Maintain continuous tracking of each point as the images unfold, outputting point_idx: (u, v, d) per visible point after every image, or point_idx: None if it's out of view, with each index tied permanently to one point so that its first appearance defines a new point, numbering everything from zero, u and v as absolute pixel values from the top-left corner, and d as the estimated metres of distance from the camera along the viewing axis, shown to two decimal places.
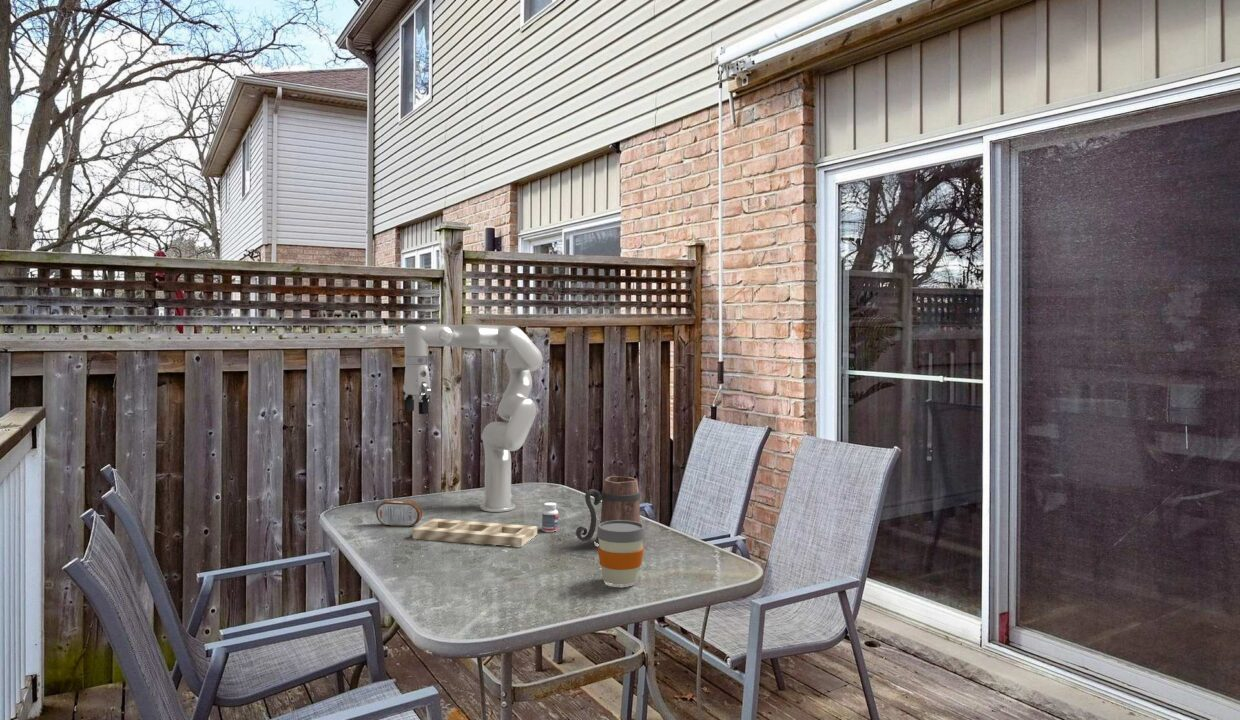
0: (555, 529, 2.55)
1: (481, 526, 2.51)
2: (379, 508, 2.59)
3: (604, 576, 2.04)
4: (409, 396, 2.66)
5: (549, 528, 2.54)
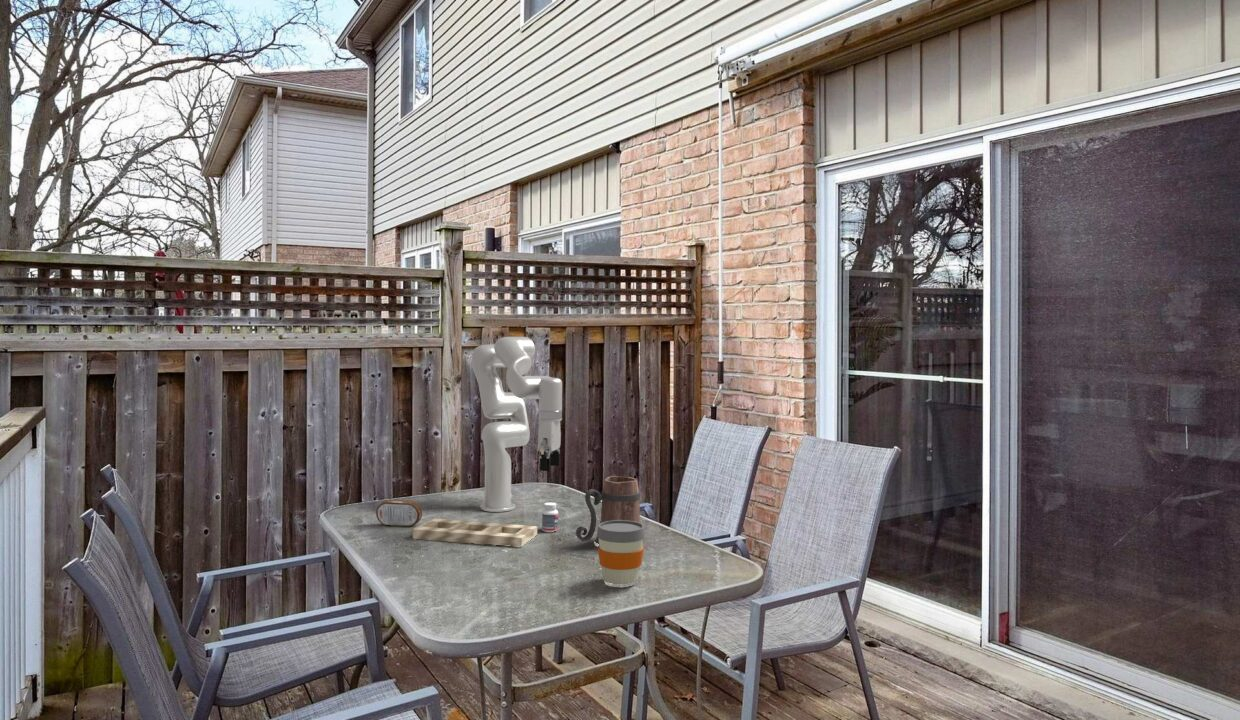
0: (555, 529, 2.55)
1: (481, 526, 2.51)
2: (379, 508, 2.59)
3: (604, 576, 2.04)
4: None
5: (549, 528, 2.54)
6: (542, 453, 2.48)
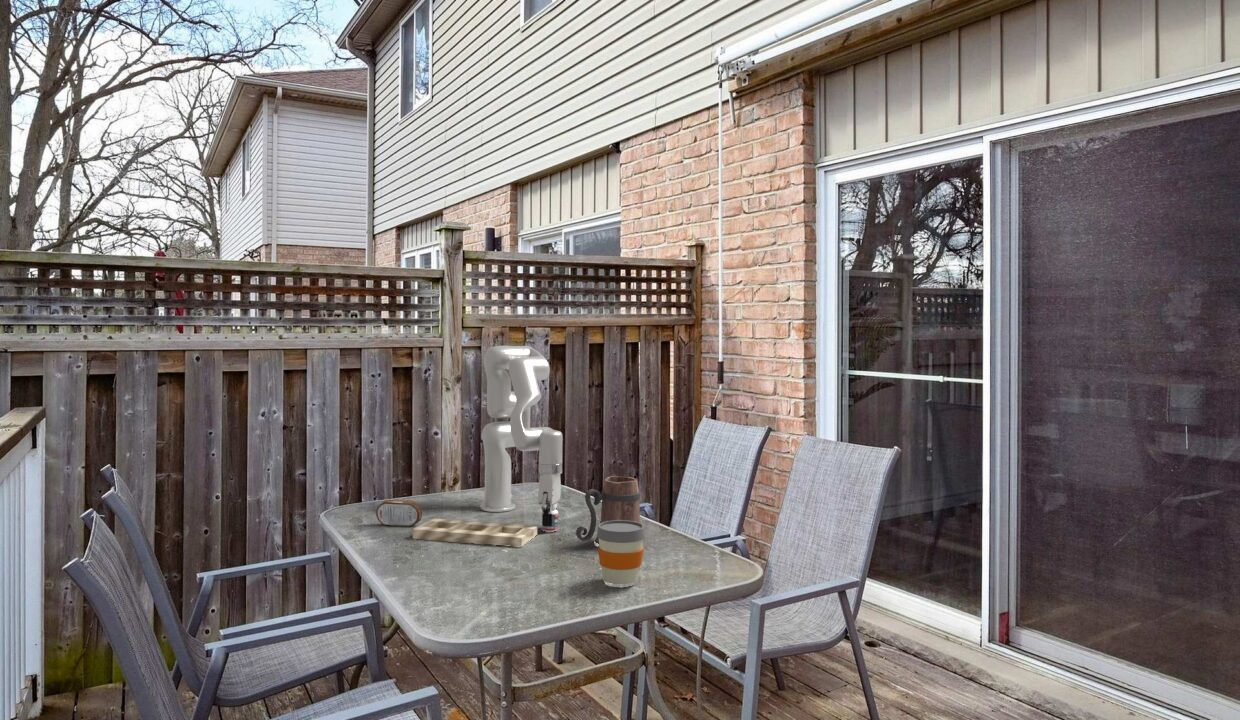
0: (555, 529, 2.55)
1: (481, 526, 2.51)
2: (379, 508, 2.59)
3: (604, 576, 2.04)
4: None
5: (549, 528, 2.54)
6: (544, 510, 2.51)
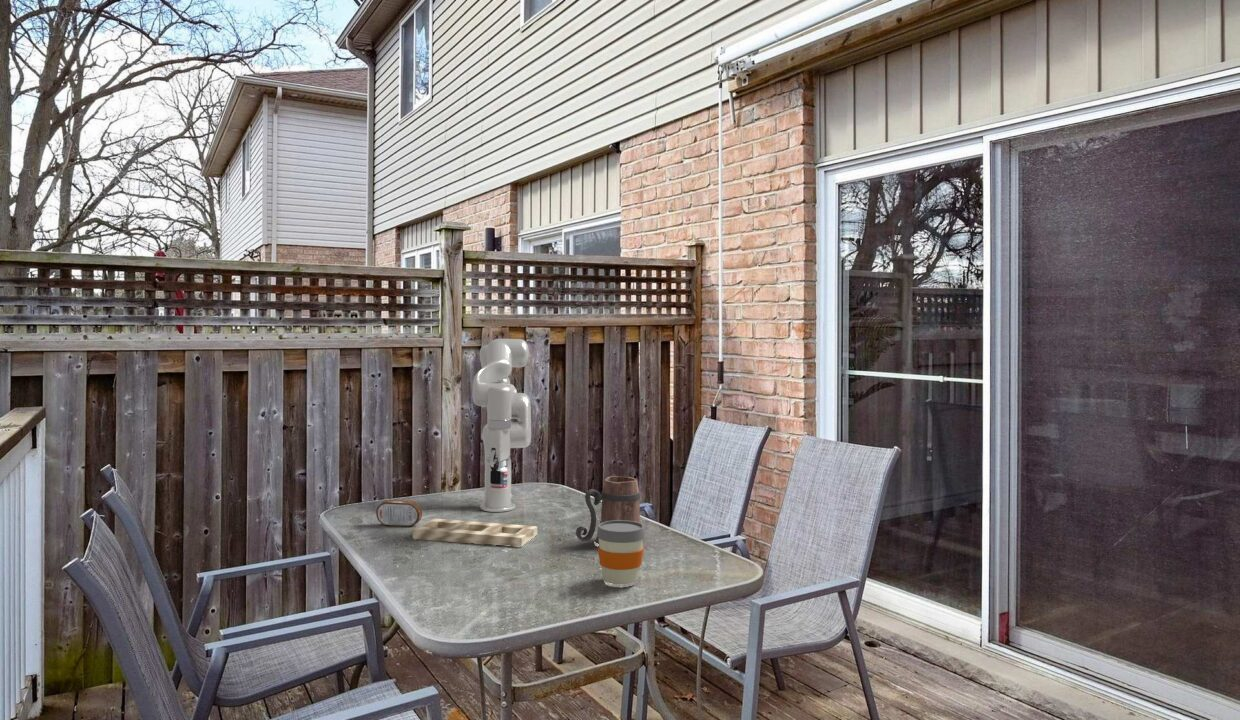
0: (504, 487, 2.48)
1: (481, 526, 2.51)
2: (379, 508, 2.59)
3: (604, 576, 2.04)
4: None
5: (498, 486, 2.47)
6: (492, 466, 2.44)
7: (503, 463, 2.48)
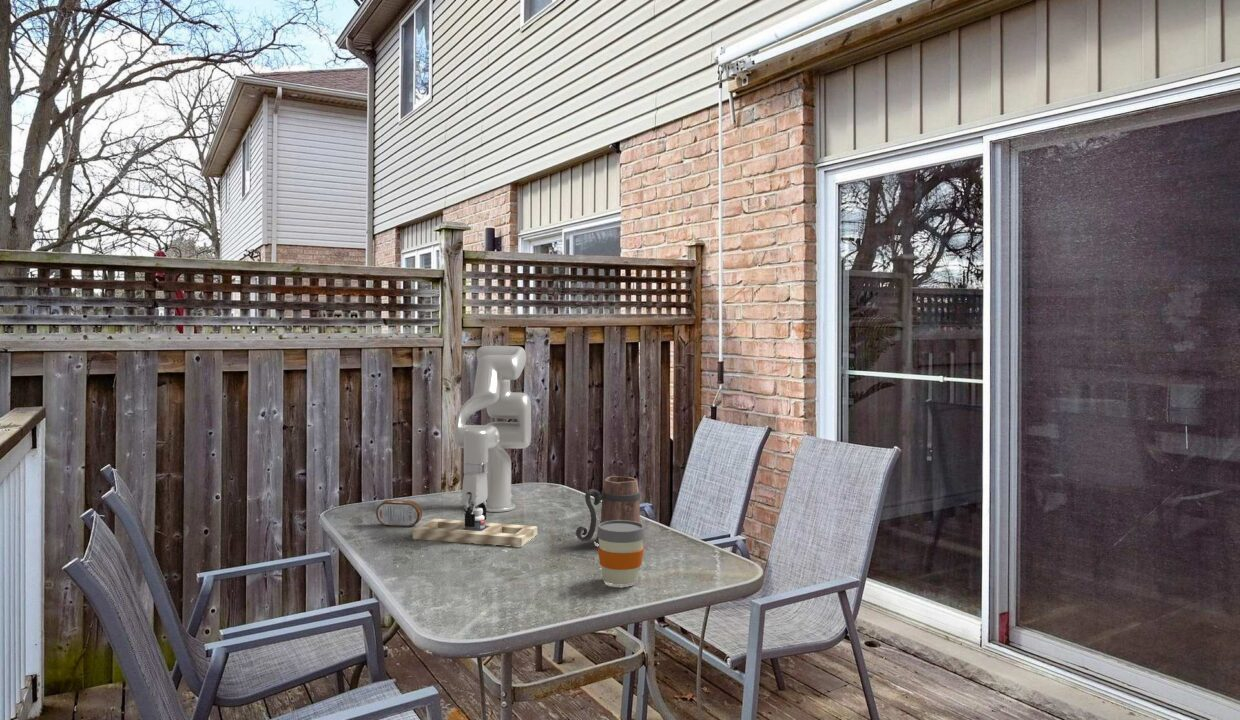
0: None
1: None
2: (379, 508, 2.59)
3: (604, 576, 2.04)
4: None
5: None
6: (466, 509, 2.40)
7: (480, 511, 2.46)
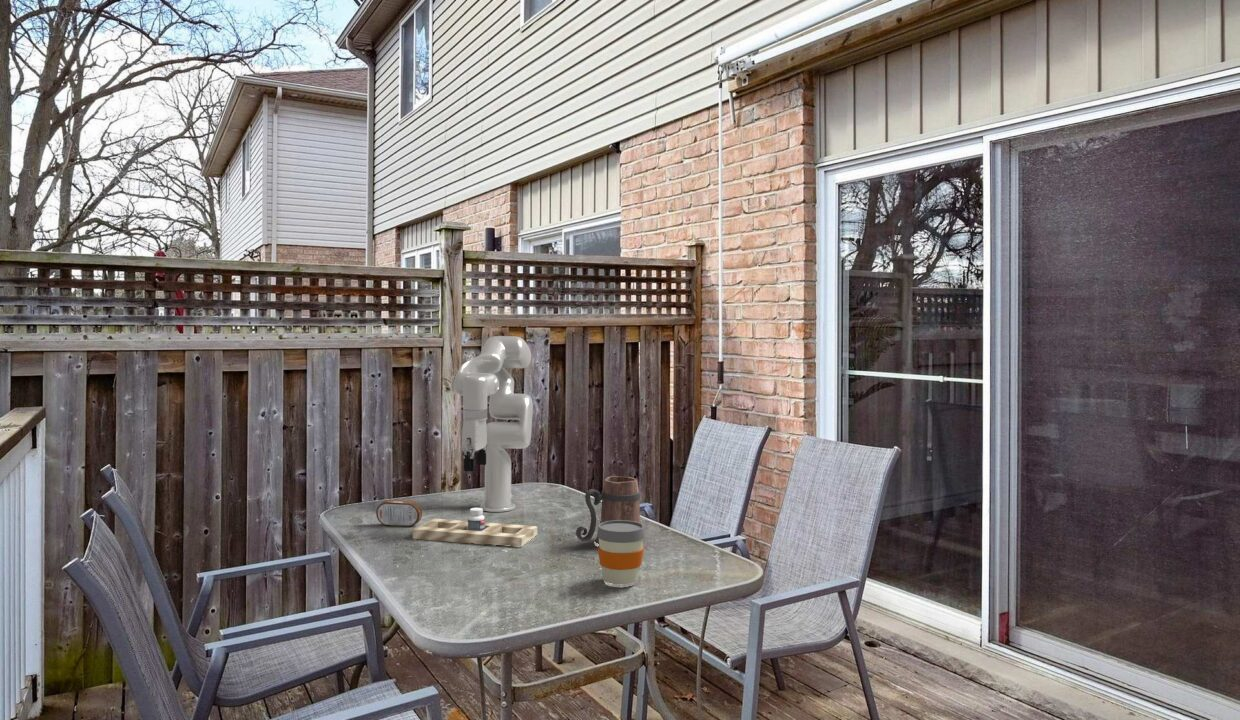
0: None
1: None
2: (379, 508, 2.59)
3: (604, 576, 2.04)
4: None
5: None
6: (465, 453, 2.42)
7: (480, 511, 2.46)
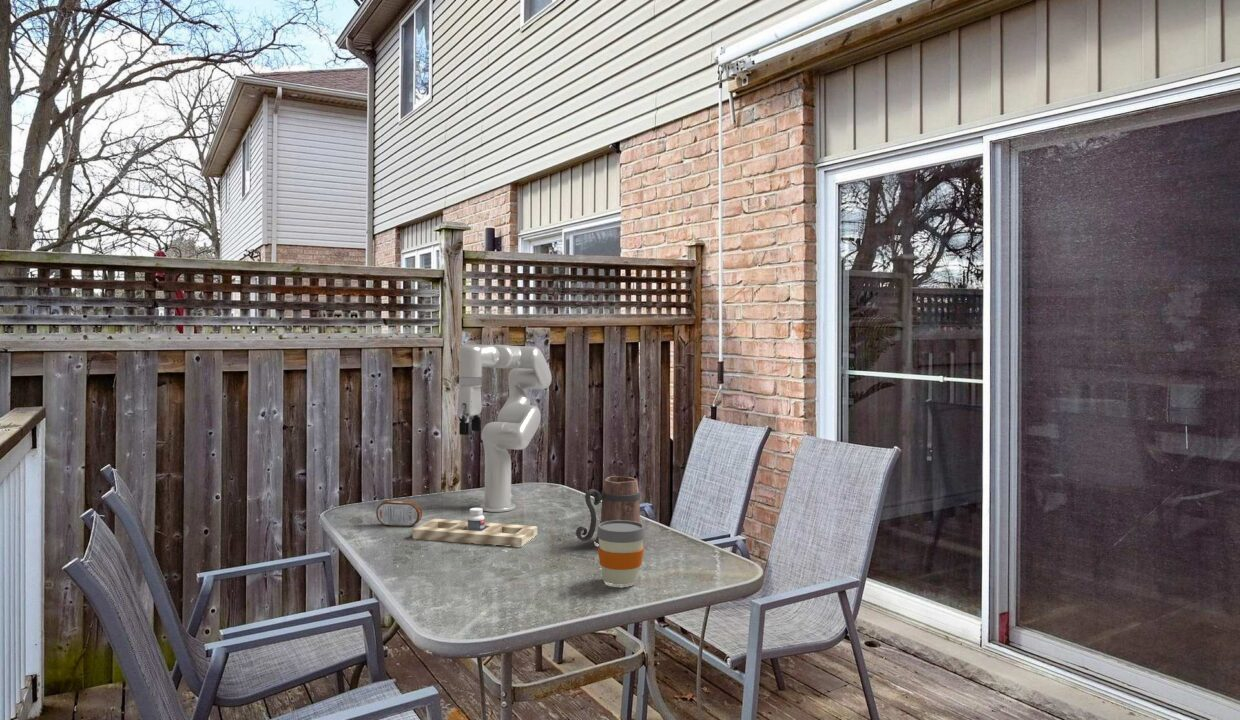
0: None
1: None
2: (379, 508, 2.59)
3: (604, 576, 2.04)
4: None
5: None
6: (460, 417, 2.58)
7: (480, 511, 2.46)
